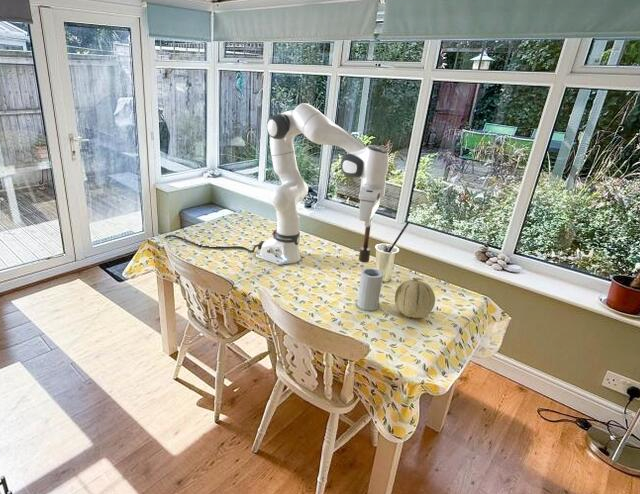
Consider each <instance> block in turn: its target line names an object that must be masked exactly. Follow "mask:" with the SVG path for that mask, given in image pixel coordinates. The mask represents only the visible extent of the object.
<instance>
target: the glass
mask: <svg viewBox="0 0 640 494" xmlns="http://www.w3.org/2000/svg"><path fill="white" fill-rule="evenodd" d="M409 224H410V223H409V222H407V221H406V223H405V225H404V226H403V228H402V229H401V231H400V232H399V234H398V236H397V237H396V238H395V240H394V242H393V243H392V244H389V243H378V244H376V245H375V247H374V248H375V269H378V270H380V271H381V272H382V273H383V278H382V283H386V282H390V280H391V275H392V271H393V268H394V265H395V263H396V259H397V256H398V253H399V251H400V248H398V247H397V246H396V244H397V243H398V241H399V240H400V238H401V236H402V235H403V233H404V232H405V231H406V229H407V227H408V226H409Z"/></svg>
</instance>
